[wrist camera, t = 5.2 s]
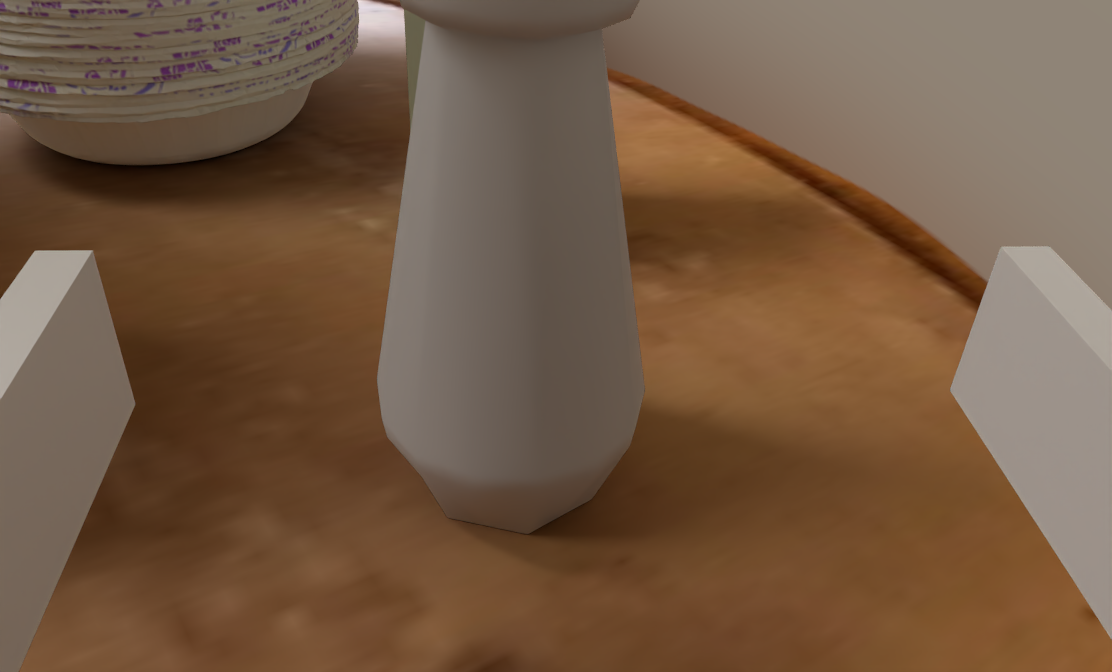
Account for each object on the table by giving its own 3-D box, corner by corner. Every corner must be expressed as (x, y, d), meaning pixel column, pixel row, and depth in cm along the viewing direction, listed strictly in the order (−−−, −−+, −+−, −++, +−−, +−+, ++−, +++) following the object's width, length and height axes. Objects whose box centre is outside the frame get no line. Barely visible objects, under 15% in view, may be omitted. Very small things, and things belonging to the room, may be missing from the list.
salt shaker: (377, 401, 24) (326, -180, 17) (598, 378, 25) (643, -175, 18) (396, 582, 20) (337, -109, 12) (665, 544, 21) (766, -110, 13)
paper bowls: (375, 195, 33) (357, -44, 29) (-108, 220, 31) (-215, -39, 26) (362, 47, 45) (347, -137, 41) (14, 56, 43) (-43, -141, 38)
